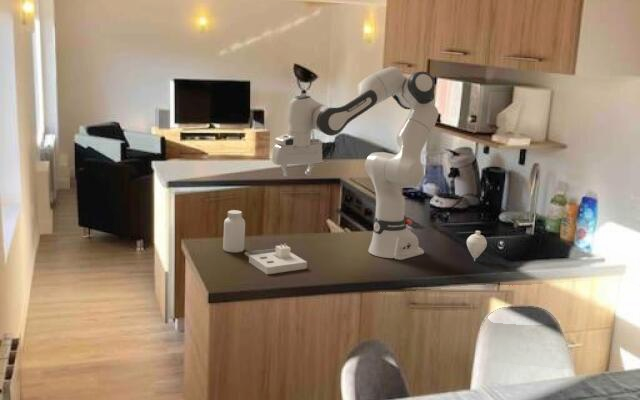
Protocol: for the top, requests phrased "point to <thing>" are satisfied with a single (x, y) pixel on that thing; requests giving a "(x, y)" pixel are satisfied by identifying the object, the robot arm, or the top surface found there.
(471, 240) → the spinning top
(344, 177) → the top surface
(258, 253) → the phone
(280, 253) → the charger
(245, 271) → the top surface
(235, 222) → the pill bottle
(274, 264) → the outlet plate
